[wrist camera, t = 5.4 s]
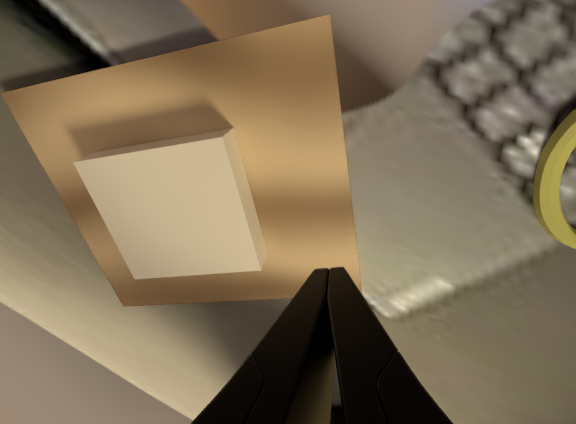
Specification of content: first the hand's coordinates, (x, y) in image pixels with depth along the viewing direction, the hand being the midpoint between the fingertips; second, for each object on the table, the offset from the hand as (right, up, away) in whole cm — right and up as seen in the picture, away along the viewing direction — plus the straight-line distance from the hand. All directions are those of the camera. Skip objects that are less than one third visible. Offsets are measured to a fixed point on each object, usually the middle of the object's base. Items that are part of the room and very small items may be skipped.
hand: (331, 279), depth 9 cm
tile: (-3, +2, +6) cm, 7 cm away
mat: (-6, +3, +8) cm, 11 cm away
